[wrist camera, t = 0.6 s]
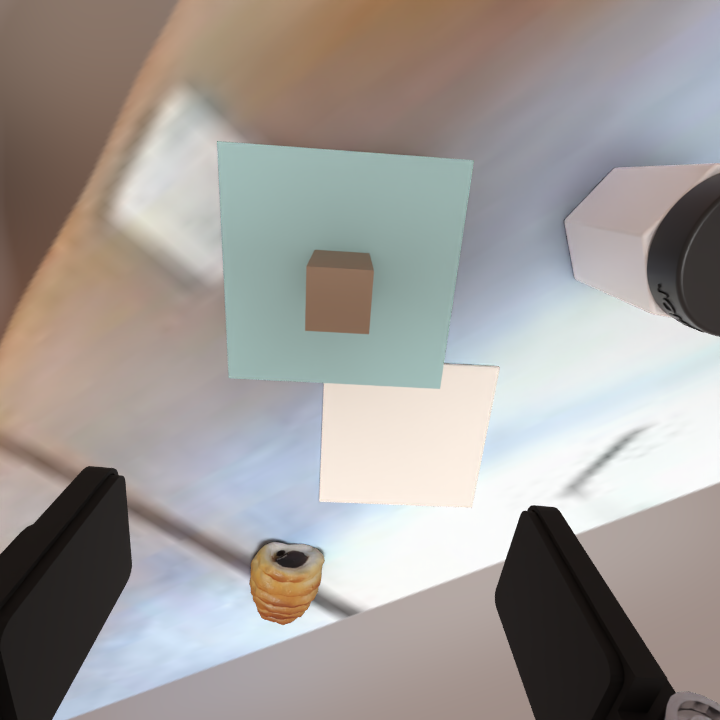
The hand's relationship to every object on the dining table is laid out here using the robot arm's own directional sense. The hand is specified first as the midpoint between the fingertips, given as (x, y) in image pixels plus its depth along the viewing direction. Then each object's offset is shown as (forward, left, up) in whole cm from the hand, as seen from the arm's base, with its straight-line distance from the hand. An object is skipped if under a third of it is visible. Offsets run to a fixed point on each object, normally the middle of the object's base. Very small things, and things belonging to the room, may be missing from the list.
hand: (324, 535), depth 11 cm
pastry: (+4, +28, -25) cm, 38 cm away
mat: (-6, +12, -25) cm, 28 cm away
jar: (-20, -6, -25) cm, 32 cm away
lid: (0, -3, -19) cm, 19 cm away
